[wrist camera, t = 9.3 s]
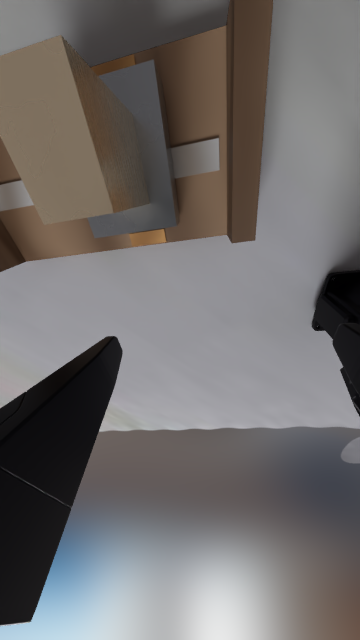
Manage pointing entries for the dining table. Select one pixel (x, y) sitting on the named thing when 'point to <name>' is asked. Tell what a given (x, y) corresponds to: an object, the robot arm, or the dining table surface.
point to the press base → (177, 144)
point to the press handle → (88, 139)
